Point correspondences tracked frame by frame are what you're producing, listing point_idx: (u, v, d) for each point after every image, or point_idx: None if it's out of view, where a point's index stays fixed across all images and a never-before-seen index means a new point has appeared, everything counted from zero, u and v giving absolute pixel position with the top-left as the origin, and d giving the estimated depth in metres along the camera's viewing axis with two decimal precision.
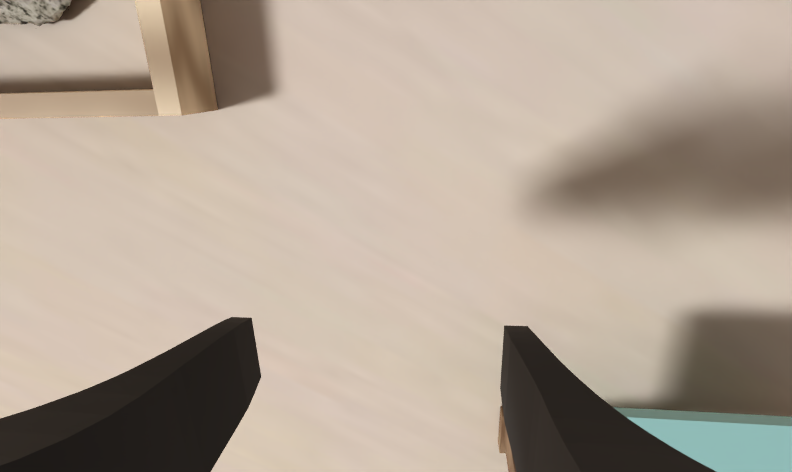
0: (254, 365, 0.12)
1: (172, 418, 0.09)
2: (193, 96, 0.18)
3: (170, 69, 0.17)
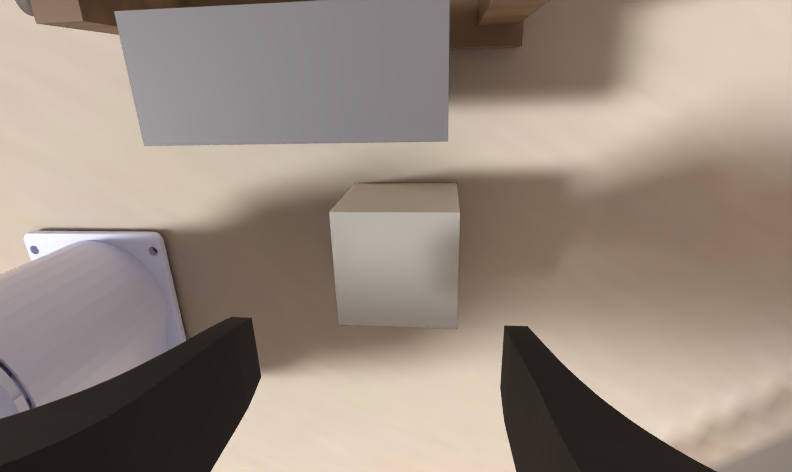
0: (254, 365, 0.12)
1: (172, 418, 0.09)
2: None
3: None
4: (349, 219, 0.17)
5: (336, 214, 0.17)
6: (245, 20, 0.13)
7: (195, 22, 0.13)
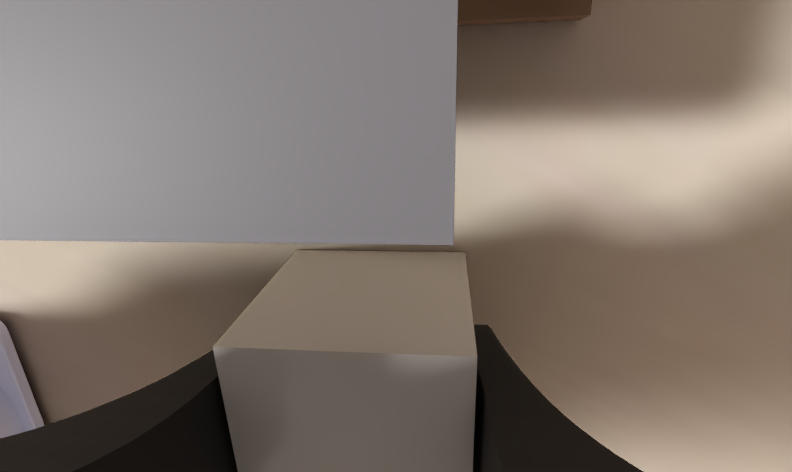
0: None
1: (218, 421, 0.09)
2: None
3: None
4: (253, 361, 0.08)
5: (227, 352, 0.08)
6: None
7: None
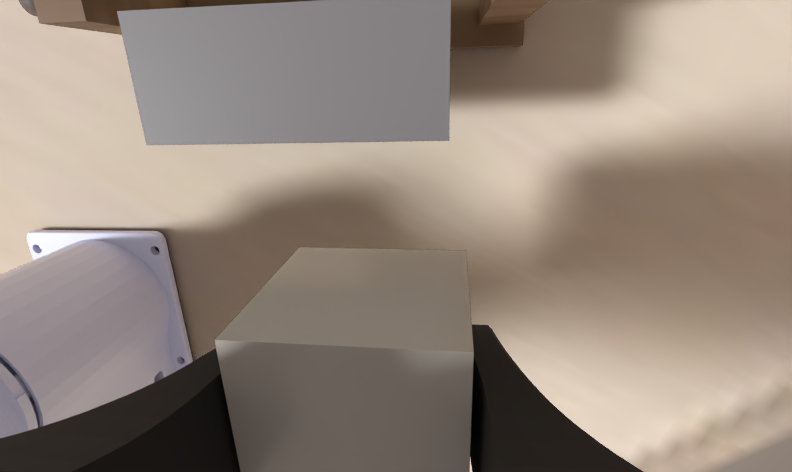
0: None
1: (218, 421, 0.09)
2: None
3: None
4: (254, 354, 0.08)
5: (228, 345, 0.08)
6: (247, 20, 0.13)
7: (197, 22, 0.13)
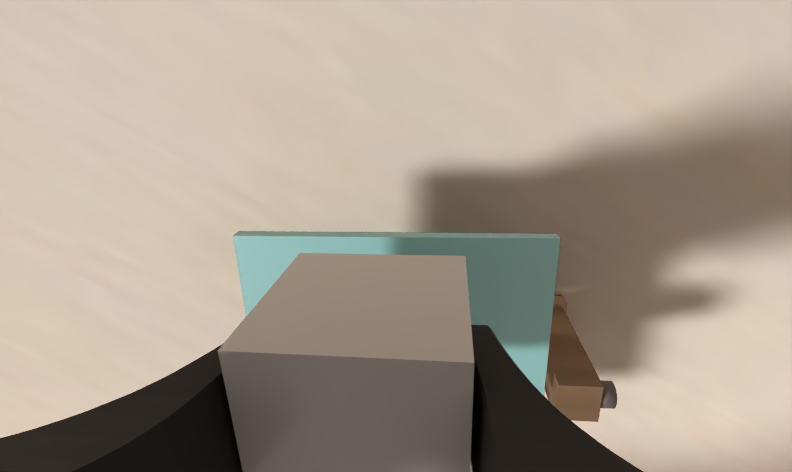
0: None
1: (218, 421, 0.09)
2: None
3: None
4: (257, 365, 0.09)
5: (232, 356, 0.08)
6: None
7: None
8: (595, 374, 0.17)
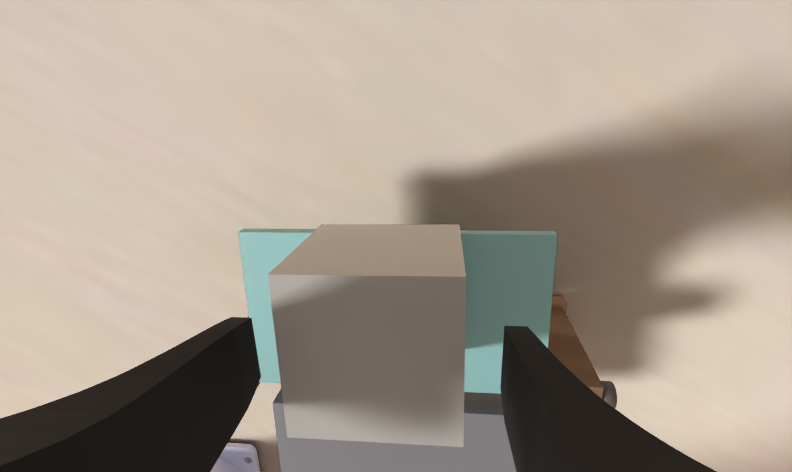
0: (254, 365, 0.12)
1: (172, 418, 0.09)
2: None
3: None
4: (298, 285, 0.11)
5: (278, 278, 0.11)
6: None
7: None
8: (595, 374, 0.17)
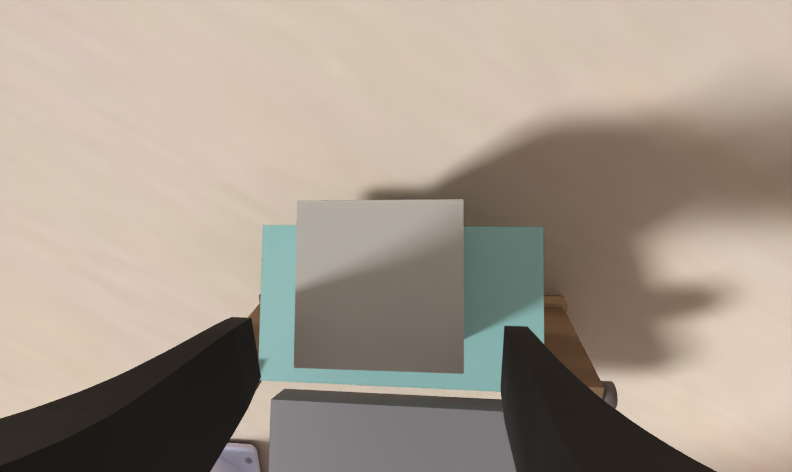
0: (254, 365, 0.12)
1: (172, 418, 0.09)
2: None
3: None
4: (322, 210, 0.13)
5: (306, 203, 0.13)
6: (370, 415, 0.17)
7: (331, 413, 0.17)
8: (596, 374, 0.17)
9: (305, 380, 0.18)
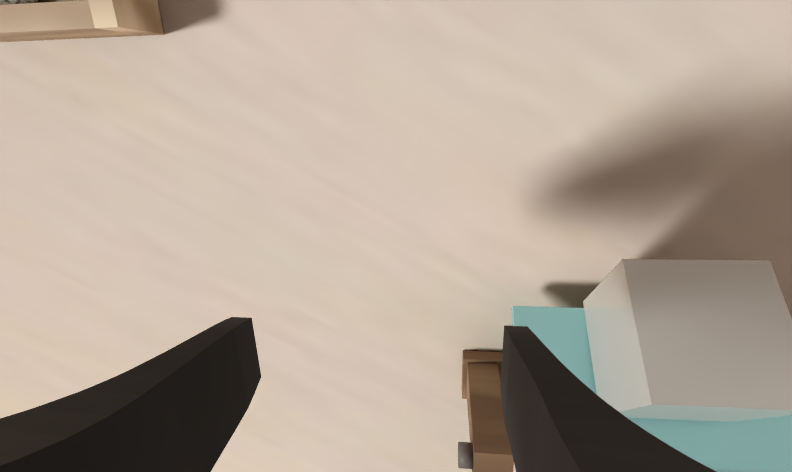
0: (254, 365, 0.12)
1: (172, 418, 0.09)
2: (132, 12, 0.18)
3: None
4: (646, 266, 0.16)
5: (631, 261, 0.16)
6: None
7: None
8: None
9: None
